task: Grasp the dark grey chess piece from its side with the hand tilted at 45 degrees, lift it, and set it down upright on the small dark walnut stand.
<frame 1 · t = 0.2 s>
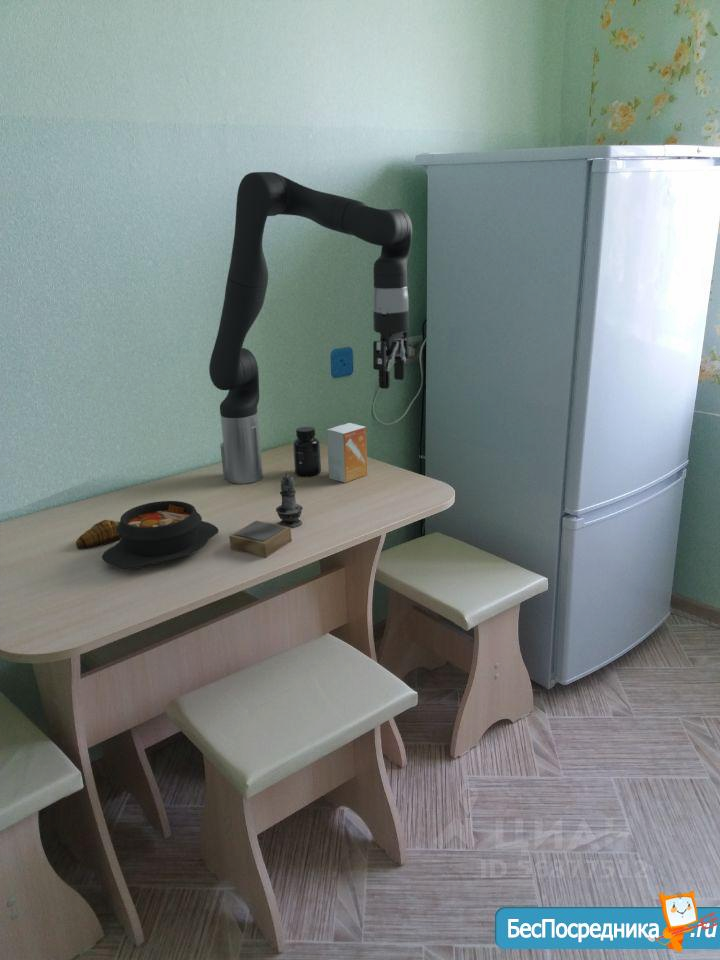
hand: (392, 383, 172), 28 cm above the table, tool pointing down, fingers open, 8 cm apart
croissant: (108, 542, 169), on the table
walnut stand: (261, 545, 163), on the table
casserole: (163, 552, 163), on the table
small box: (348, 477, 201), on the table
dark grey chess piece: (290, 524, 174), on the table
supplement bottle: (308, 474, 205), on the table
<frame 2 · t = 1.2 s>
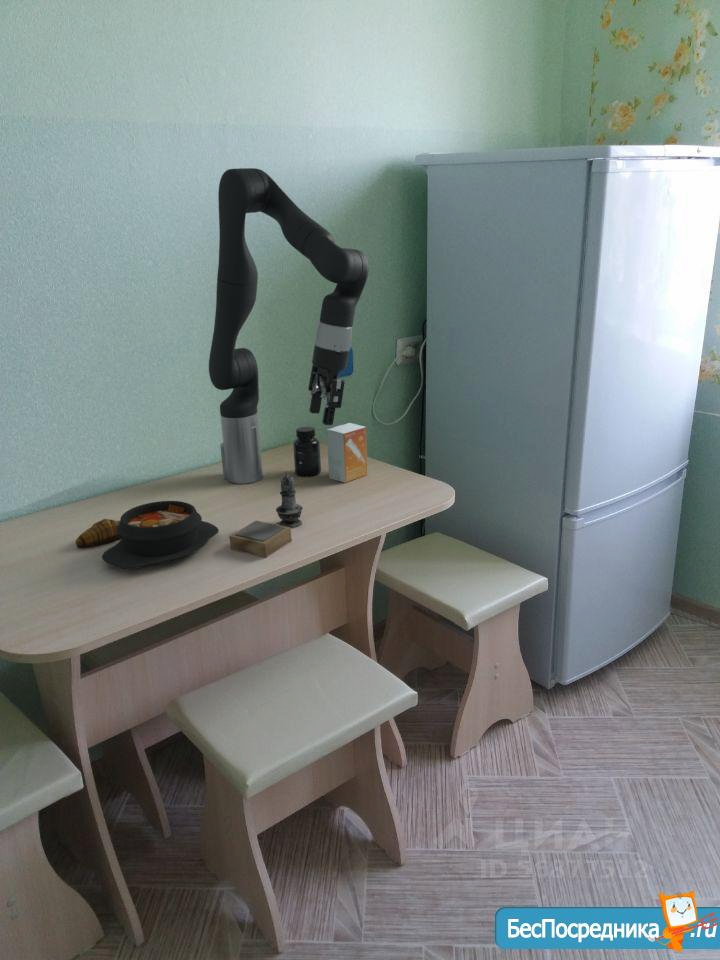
hand: (320, 418, 172), 22 cm above the table, tool pointing down, fingers open, 8 cm apart
nothing on the table moved.
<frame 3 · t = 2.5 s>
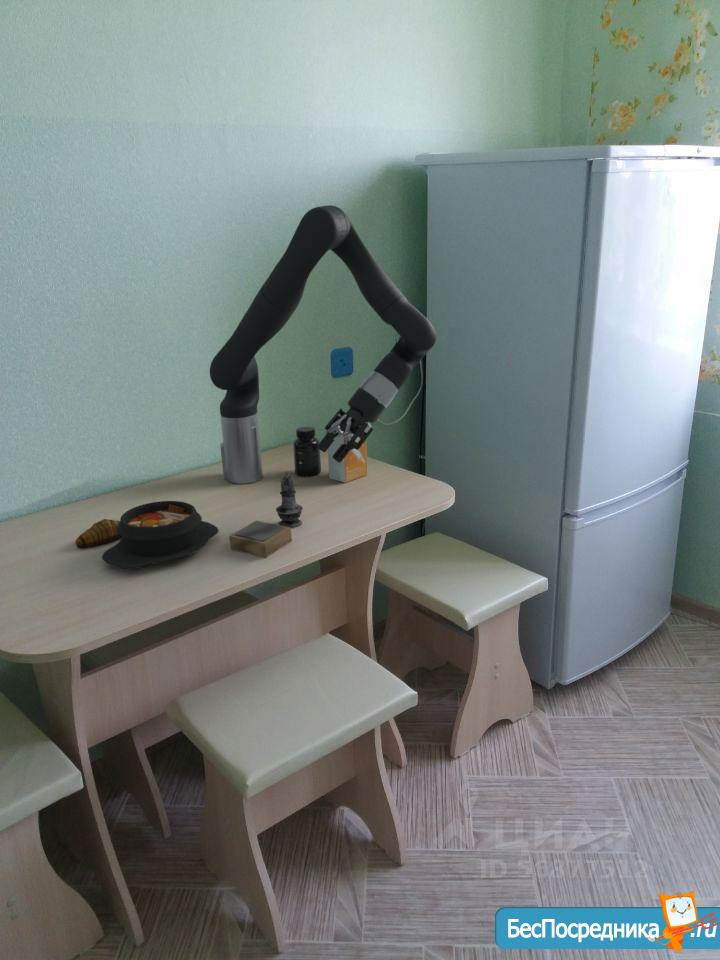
hand: (327, 455, 173), 14 cm above the table, tool tilted 45°, fingers open, 8 cm apart
nothing on the table moved.
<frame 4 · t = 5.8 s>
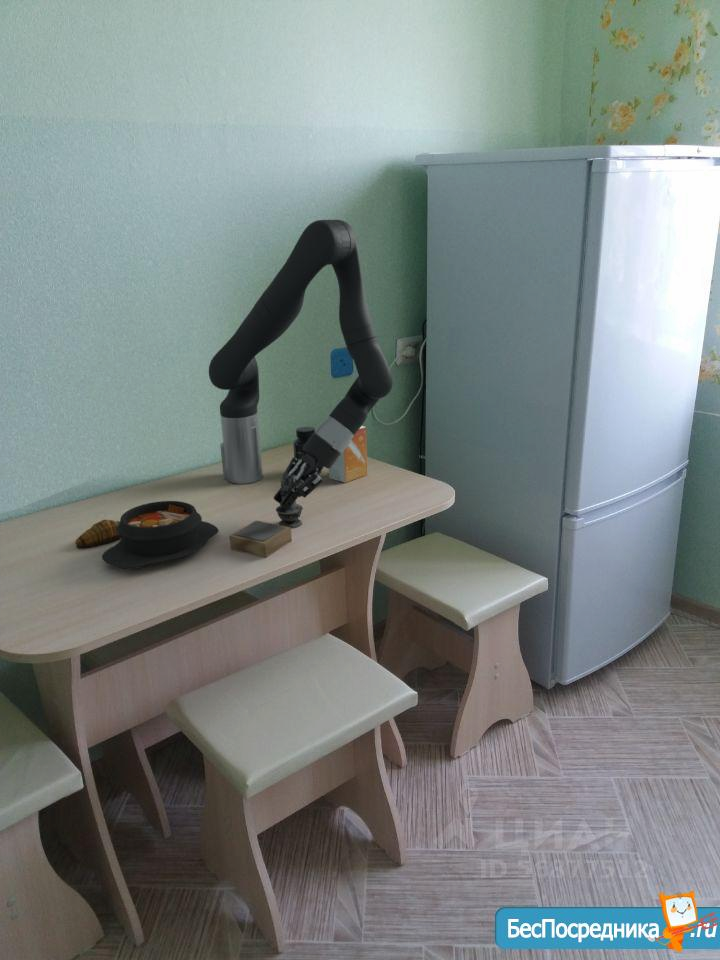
hand: (280, 504, 171), 5 cm above the table, tool tilted 45°, fingers closed on dark grey chess piece, 3 cm apart
dark grey chess piece: (290, 524, 174), on the table, touching gripper
everything else where it was.
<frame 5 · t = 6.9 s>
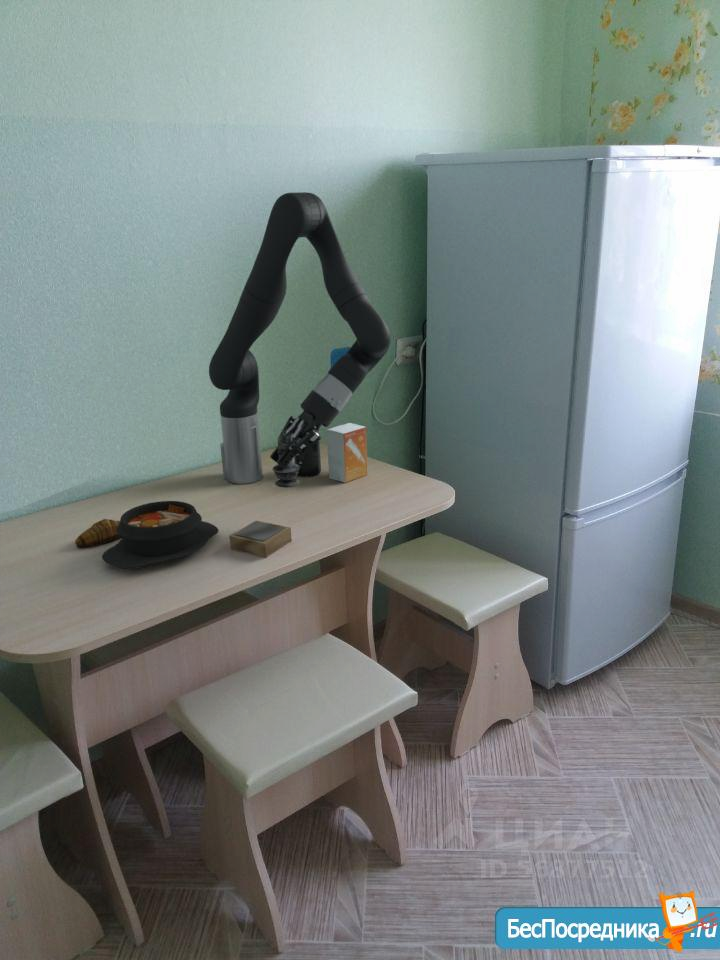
hand: (277, 462, 168), 15 cm above the table, tool tilted 45°, fingers closed on dark grey chess piece, 3 cm apart
dark grey chess piece: (287, 483, 171), point 9 cm above the table, touching gripper
everything else where it was.
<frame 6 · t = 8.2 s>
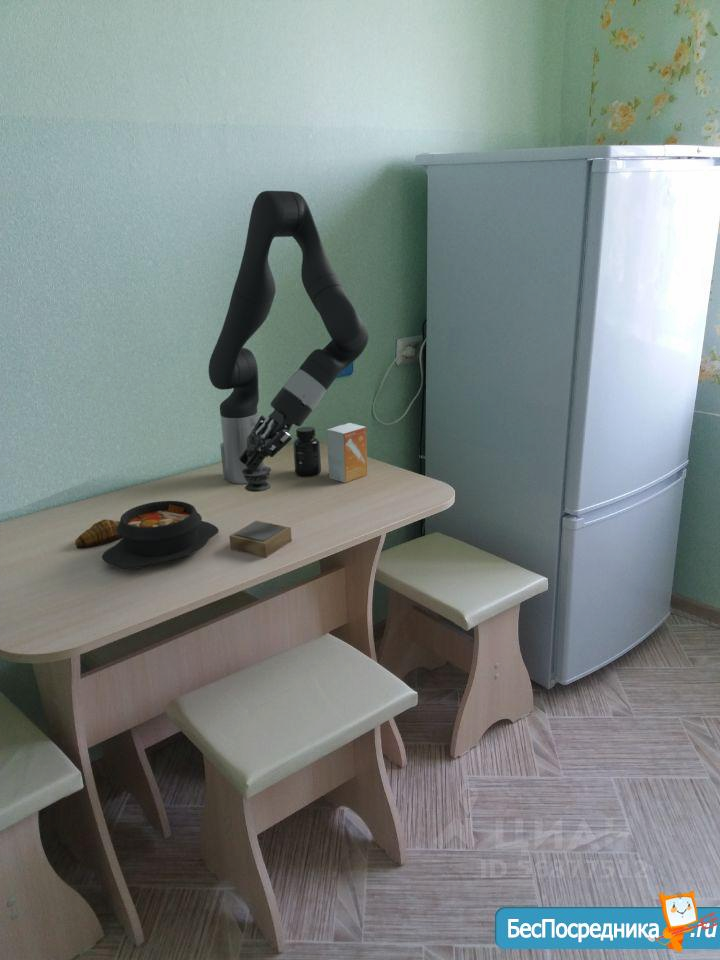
hand: (246, 465, 157), 18 cm above the table, tool tilted 45°, fingers closed on dark grey chess piece, 3 cm apart
dark grey chess piece: (258, 488, 159), point 13 cm above the table, touching gripper
everything else where it was.
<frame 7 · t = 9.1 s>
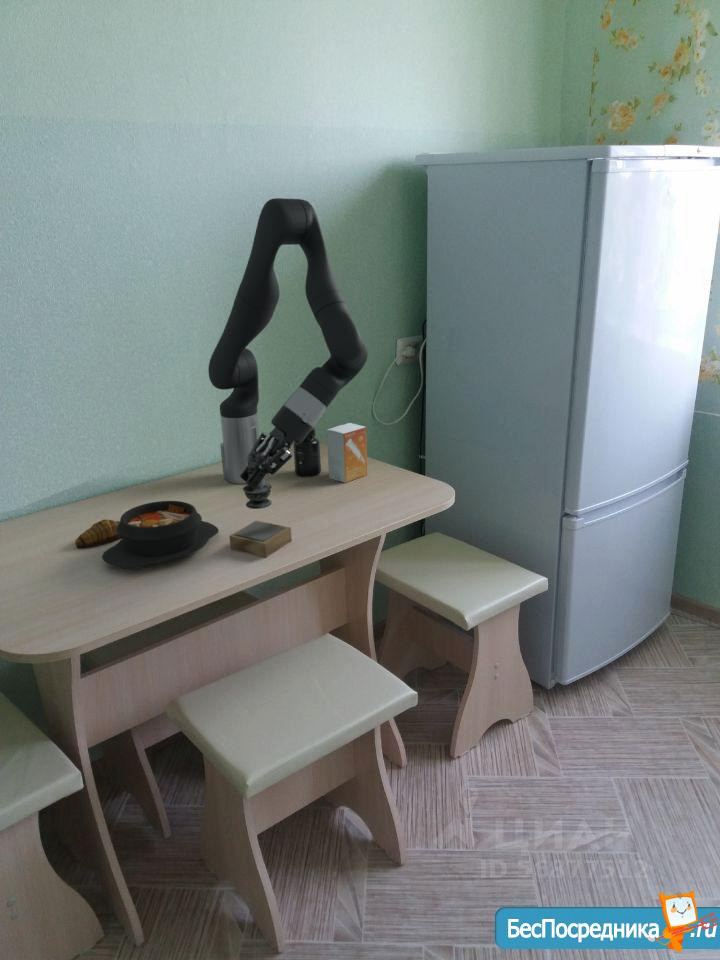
hand: (247, 482, 158), 14 cm above the table, tool tilted 45°, fingers closed on dark grey chess piece, 3 cm apart
dark grey chess piece: (258, 504, 160), point 9 cm above the table, touching gripper
everything else where it was.
when the fingers open (9 cm above the table, at t = 10.5 s): dark grey chess piece stays where it is, resting on walnut stand.
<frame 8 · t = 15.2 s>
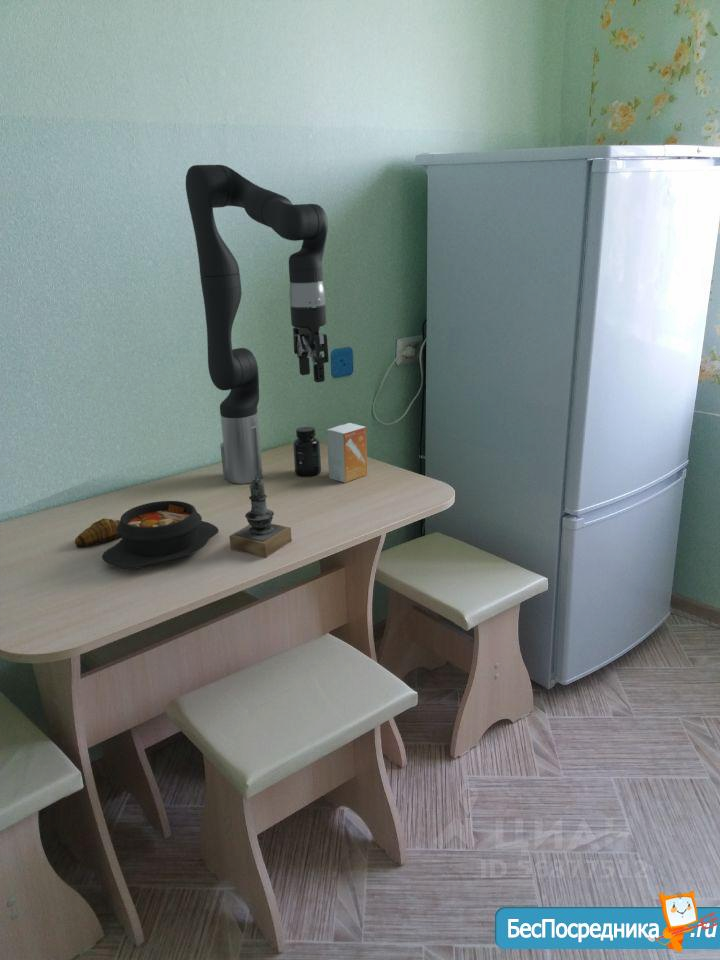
hand: (312, 378, 173), 30 cm above the table, tool pointing down, fingers open, 8 cm apart
dark grey chess piece: (261, 531, 163), point 3 cm above the table, touching walnut stand
everything else where it was.
at the end: dark grey chess piece inside the target area on the walnut stand (0.2 cm from its centre), point 3.0 cm above the walnut stand's base; dark grey chess piece tilted 0°; the gripper is holding nothing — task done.
